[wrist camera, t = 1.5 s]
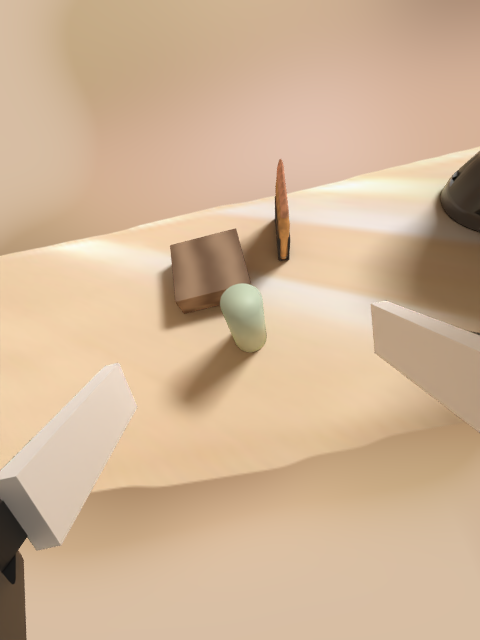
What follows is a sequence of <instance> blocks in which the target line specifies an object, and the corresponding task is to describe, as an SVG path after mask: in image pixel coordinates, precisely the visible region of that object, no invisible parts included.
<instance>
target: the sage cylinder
mask: <svg viewBox="0 0 480 640" xmlns="http://www.w3.org/2000/svg"><path fill="white" fill-rule="evenodd" d="M220 307H221V310H222V313H223V315H224V317H225V320H226V322H227V324H228V327H229V329H230V331H231V334H232V336H233V338H234V341H235V343H236V345H237V346H238V348H239V349H241V350H242V351H245V352H255V351H258V350H259V349H261V348H262V347H263V346H264V344H265V342H266V338H267V335H266V327H265V318H264V310H263V301H262V296H261V293H260V292H259V290H258V289H257V288H256V287H254V286H252V285H250V284H245V283H241V284H236V285H233V286H231V287H229V288H228V289H227V290H226V291H225V292H224V293H223V294H222V296H221V299H220Z"/></svg>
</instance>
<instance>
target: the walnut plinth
mask: <svg viewBox="0 0 480 640" xmlns="http://www.w3.org/2000/svg"><path fill="white" fill-rule="evenodd" d="M170 249H171V259H172V270H173V280H174V291H175V301H176V303H177V305H178V306H179V307H180V309H181V310H182V312H183V313H184V314H185V313H189V312H193V311H197V310H201V309H205V308H209V307H213V306H218V305H220V299H221V296H222V294H223V293H224V292H225V291H226V290H227V289H228V288H229V287H231V286H233V285H236V284H241V283H245V284H250V285H251V283H250V279H249V275H248V271H247V268H246V264H245V260H244V257H243V253H242V249H241V245H240V242H239V238H238V234H237V231H236V229H232V230H228V231H224V232H220V233H216V234H212V235H209V236H205V237H201V238H197V239H193V240H189V241H185V242H181V243H177V244H174V245H170Z"/></svg>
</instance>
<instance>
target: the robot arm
mask: <svg viewBox="0 0 480 640" xmlns="http://www.w3.org/2000/svg"><path fill="white" fill-rule="evenodd" d="M441 204H442V206H443V208H444V210H445V211H446V213H447V214H448V215H449V216H450V217H451V218H453V219H454V220H455V221H457V222H458V223H460V224H462V225H463V226H465V227H468V228H470V229H473V230H476V231H479V232H480V151H479V152H478V153H477V154H476V155H475V156H473V157H472V158H471V159H470V160H469V161H468V162H467V163H466V164H464V165H463V166H462V167H461V168H460V169H459V170H458V171H457V172H455V173H454V174H453V175H452V177H451V178H450V179H449V181H448V182H447V184H446V185H445V187H444V189H443V190H442V193H441ZM371 313H372V325H373V338H374V351H375V354H377V355H378V356H379V357H381V358H382V359H383V360H385V361H386V362H387V363H389V364H390V365H391V366H392V367H394V368H395V369H396V370H398V371H399V372H400V373H402V374H403V375H404V376H406V377H407V378H408V379H409V380H411V381H412V382H413V383H415V384H416V385H417V386H419V387H420V388H421V389H423V390H424V391H425V392H427V393H428V394H429V395H430V396H432V397H433V398H434V399H436V400H437V401H438V402H440V403H441V404H442V405H444V406H445V407H446V408H448V409H449V410H450V411H451V412H453V413H454V414H455V415H457V416H458V417H459V418H461V419H462V420H463V421H465V422H466V423H467V424H469V425H470V426H471V427H473V428H474V429H475V430H477V431H478V432H479V433H480V333H475V332H470V331H467V330H464V329H461V328H459V327H456V326H453V325H450V324H448V323H445V322H442V321H440V320H437V319H434V318H432V317H429V316H426V315H424V314H421V313H418V312H416V311H413V310H410V309H408V308H405V307H402V306H400V305H397V304H394V303H392V302H389V301H386V300H385V301H381V302H377V303H373V304H371ZM136 409H137V405H136V402H135V400H134V398H133V395H132V393H131V390H130V388H129V386H128V383H127V381H126V378H125V376H124V374H123V371H122V369H121V366H120V364H119V363H115V364H111V365H107V366H104V367H103V368H102V369H101V370H100V371H99V372H98V373H97V374H96V375H95V376H94V377H93V378H92V379H91V380H90V381H89V382H88V383H87V384H86V385H85V386H84V387H83V388H82V389H81V390H80V391H79V392H78V393H77V394H76V395H75V396H74V397H73V398H72V399H71V400H70V401H69V402H68V403H67V404H66V405H65V406H64V407H63V408H62V409H61V410H60V411H59V412H58V413H57V414H56V415H55V416H54V417H53V418H52V419H51V420H50V421H49V422H48V423H47V424H46V425H45V426H44V427H43V428H42V429H41V430H40V431H39V432H38V433H37V434H36V435H35V436H34V437H33V438H32V439H31V440H30V441H29V442H28V443H27V444H26V445H25V446H24V447H23V448H22V449H21V450H20V451H19V452H18V453H17V454H16V455H15V456H14V457H13V458H12V459H11V460H10V461H9V462H8V463H7V464H6V465H5V466H4V467H3V468H2V469H1V470H0V640H26V619H25V618H26V616H25V591H24V590H25V589H24V562H23V561H24V560H23V558H22V555H21V554H20V553H19V551H18V549H19V548H20V546H21V545H22V544H23V542H24V541H25V539H26V538H28V539H29V540H30V542H31V543H32V545H33V546H34V547H35V549H36V550H41V549H47V548H51V547H56V546H60V545H62V543H63V541H64V539H65V537H66V536H67V534H68V532H69V530H70V528H71V526H72V525H73V523H74V521H75V519H76V517H77V516H78V514H79V512H80V510H81V508H82V507H83V505H84V503H85V501H86V499H87V497H88V496H89V494H90V492H91V490H92V488H93V487H94V485H95V483H96V481H97V479H98V478H99V476H100V474H101V472H102V470H103V469H104V467H105V465H106V463H107V461H108V459H109V458H110V456H111V454H112V452H113V450H114V449H115V447H116V445H117V443H118V441H119V439H120V438H121V436H122V434H123V432H124V430H125V429H126V427H127V425H128V423H129V421H130V420H131V418H132V416H133V414H134V412H135V410H136Z"/></svg>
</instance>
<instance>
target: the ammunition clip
mask: <svg viewBox="0 0 480 640" xmlns="http://www.w3.org/2000/svg"><path fill="white" fill-rule="evenodd" d="M275 222H276V235H277V247H278V260H279V261H281V260H289V251H290V233H289V227H290V223H289V210H288V201H287V192H286V183H285V175H284V166H283V162H282V160H281V159H280V160H279V163H278V167H277V180H276V196H275Z"/></svg>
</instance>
